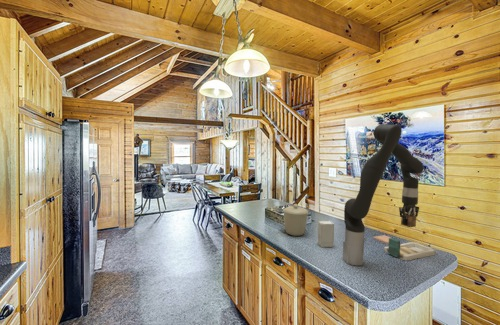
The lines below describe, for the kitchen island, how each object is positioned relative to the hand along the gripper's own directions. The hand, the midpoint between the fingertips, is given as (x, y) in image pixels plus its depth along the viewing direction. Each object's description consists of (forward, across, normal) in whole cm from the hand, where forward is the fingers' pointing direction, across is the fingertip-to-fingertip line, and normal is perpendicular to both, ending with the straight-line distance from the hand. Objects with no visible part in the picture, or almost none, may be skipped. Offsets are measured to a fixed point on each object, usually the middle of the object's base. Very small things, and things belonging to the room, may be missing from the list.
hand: (408, 224), depth 128 cm
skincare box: (+18, -39, +24) cm, 49 cm away
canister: (+18, -46, +47) cm, 68 cm away
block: (+1, 0, 0) cm, 1 cm away
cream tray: (+17, +3, 0) cm, 17 cm away
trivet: (+17, +6, +18) cm, 25 cm away
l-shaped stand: (+17, -4, 0) cm, 17 cm away
